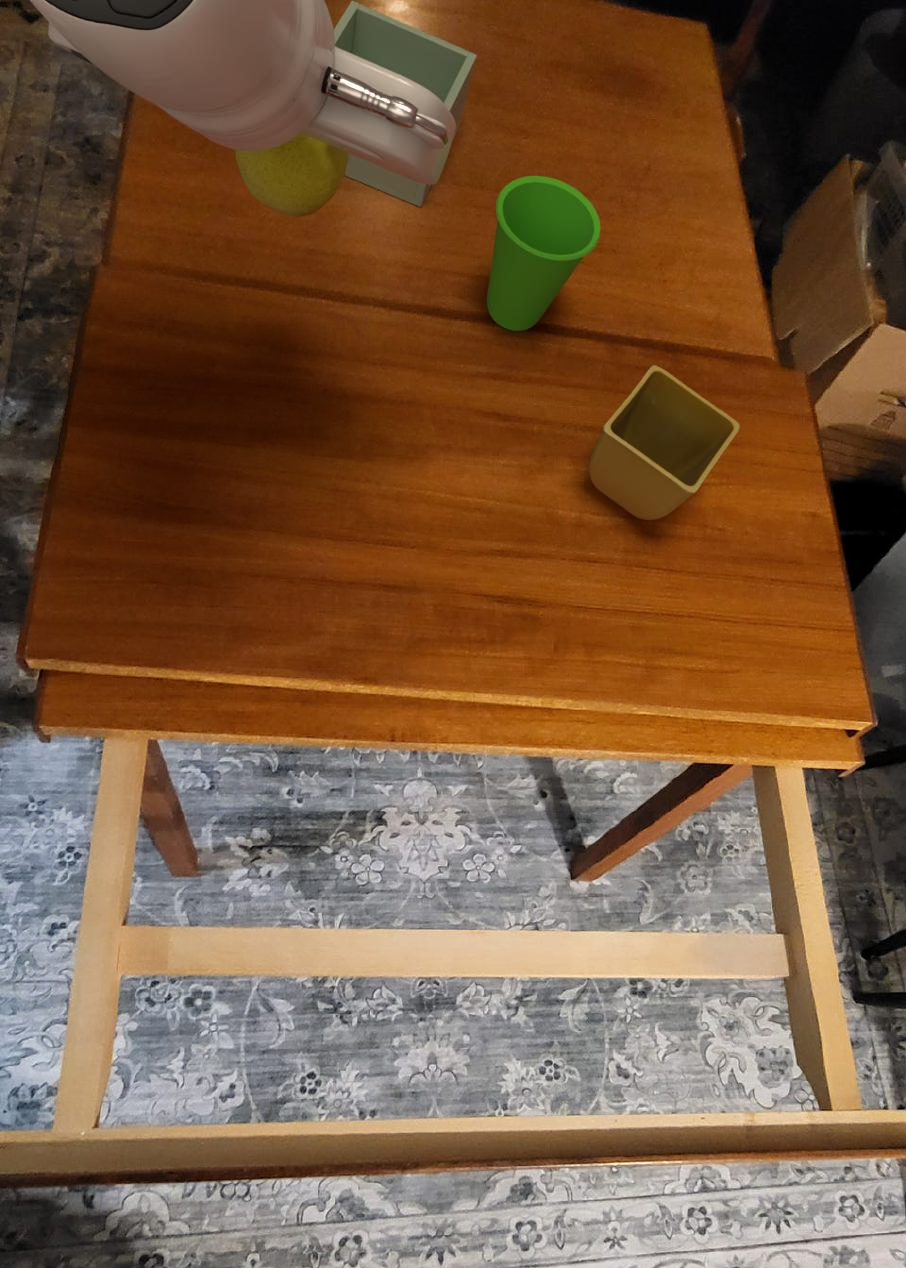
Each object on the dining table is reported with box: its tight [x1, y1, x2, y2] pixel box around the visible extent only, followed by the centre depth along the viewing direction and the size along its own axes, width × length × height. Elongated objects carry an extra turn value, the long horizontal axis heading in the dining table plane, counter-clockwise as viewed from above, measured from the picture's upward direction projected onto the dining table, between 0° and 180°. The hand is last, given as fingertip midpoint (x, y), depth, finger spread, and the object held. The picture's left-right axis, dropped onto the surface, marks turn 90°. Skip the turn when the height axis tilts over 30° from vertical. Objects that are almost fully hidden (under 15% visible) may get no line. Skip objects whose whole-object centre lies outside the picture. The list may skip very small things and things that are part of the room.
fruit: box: [234, 133, 349, 217], centre depth 55 cm, size 7×7×12 cm
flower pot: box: [588, 364, 741, 521], centre depth 74 cm, size 9×9×9 cm
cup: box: [486, 175, 602, 332], centre depth 79 cm, size 9×9×11 cm
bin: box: [333, 0, 478, 208], centre depth 85 cm, size 13×13×8 cm
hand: (300, 106), depth 55 cm, fingers closed on fruit, 5 cm apart
